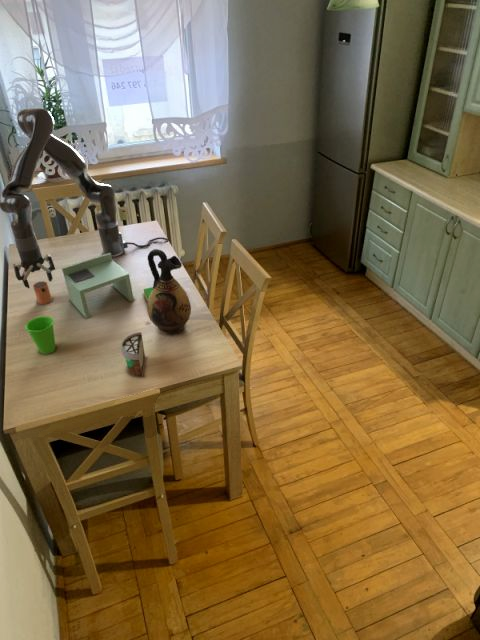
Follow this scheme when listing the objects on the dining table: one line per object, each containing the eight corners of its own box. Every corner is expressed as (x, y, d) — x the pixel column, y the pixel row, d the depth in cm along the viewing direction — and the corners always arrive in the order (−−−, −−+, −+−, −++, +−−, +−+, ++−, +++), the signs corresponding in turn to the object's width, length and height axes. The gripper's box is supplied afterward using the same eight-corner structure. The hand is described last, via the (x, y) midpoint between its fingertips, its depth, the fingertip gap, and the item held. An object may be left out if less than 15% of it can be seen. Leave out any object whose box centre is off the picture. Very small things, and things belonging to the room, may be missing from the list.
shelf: (116, 284, 197) (109, 252, 188) (133, 300, 186) (127, 266, 177) (70, 301, 187) (61, 268, 178) (86, 318, 176) (77, 284, 168)
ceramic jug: (200, 320, 173) (193, 246, 156) (179, 343, 162) (169, 267, 145) (161, 310, 179) (151, 238, 162) (138, 332, 168) (124, 257, 151)
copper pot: (48, 294, 191) (43, 278, 187) (55, 302, 186) (50, 286, 182) (35, 299, 189) (30, 282, 184) (41, 307, 184) (36, 290, 179)
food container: (127, 356, 156) (122, 332, 151) (145, 355, 157) (141, 331, 151) (122, 381, 146) (117, 356, 141) (142, 379, 147) (137, 354, 141)
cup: (66, 344, 163) (59, 318, 157) (50, 360, 156) (41, 333, 150) (45, 339, 166) (37, 314, 159) (28, 355, 158) (18, 328, 152)
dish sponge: (161, 290, 192) (160, 285, 190) (169, 306, 181) (169, 301, 180) (144, 294, 190) (143, 288, 188) (151, 311, 179) (151, 305, 178)
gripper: (10, 255, 168) (23, 293, 177) (50, 244, 175) (60, 281, 184) (5, 248, 173) (18, 286, 182) (43, 238, 180) (54, 274, 189)
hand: (39, 284), depth 183 cm, fingers open, 8 cm apart
